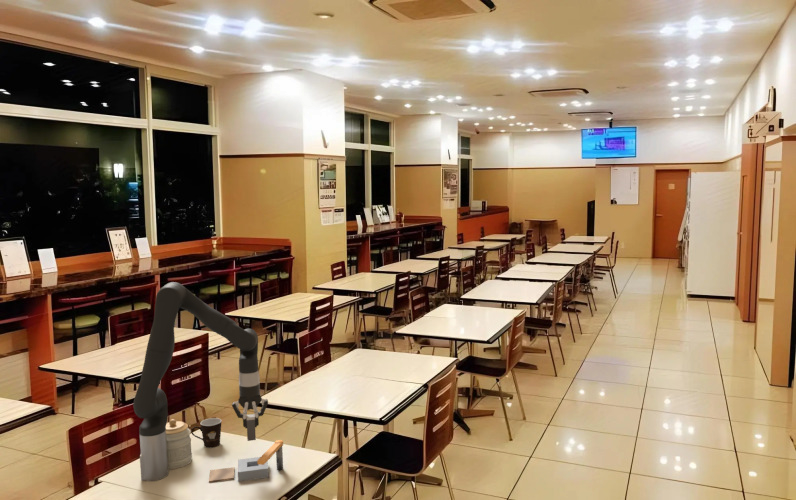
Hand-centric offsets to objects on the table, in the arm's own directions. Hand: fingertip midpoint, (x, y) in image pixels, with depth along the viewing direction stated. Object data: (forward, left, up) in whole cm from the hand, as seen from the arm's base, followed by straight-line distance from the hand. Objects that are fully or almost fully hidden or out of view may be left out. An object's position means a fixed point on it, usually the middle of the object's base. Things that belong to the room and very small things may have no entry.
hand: (251, 426), depth 231 cm
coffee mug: (-18, +32, -18) cm, 41 cm away
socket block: (0, 0, -18) cm, 18 cm away
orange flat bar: (+7, -7, -8) cm, 13 cm away
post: (+10, 0, -18) cm, 21 cm away
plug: (0, 0, -5) cm, 5 cm away
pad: (-11, +1, -18) cm, 21 cm away
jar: (-30, +18, -18) cm, 39 cm away
